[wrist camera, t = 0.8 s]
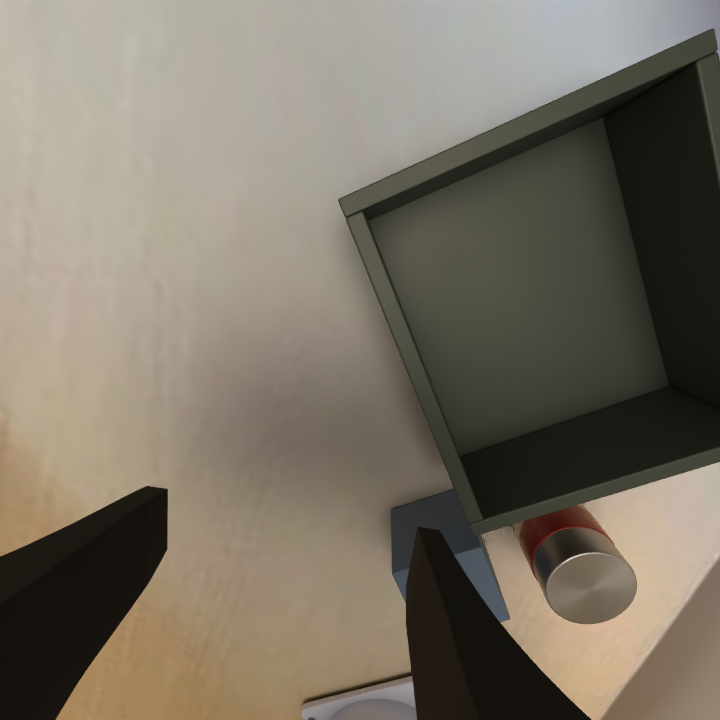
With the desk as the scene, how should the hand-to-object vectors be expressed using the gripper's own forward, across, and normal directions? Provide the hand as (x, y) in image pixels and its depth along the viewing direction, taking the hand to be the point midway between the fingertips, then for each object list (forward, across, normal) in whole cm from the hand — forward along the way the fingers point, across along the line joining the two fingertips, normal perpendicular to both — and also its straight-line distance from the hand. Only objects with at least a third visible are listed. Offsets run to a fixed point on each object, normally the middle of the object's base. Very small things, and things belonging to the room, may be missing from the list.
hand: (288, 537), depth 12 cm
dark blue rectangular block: (+9, -6, +6) cm, 13 cm away
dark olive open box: (+9, -8, -7) cm, 14 cm away
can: (+9, -12, +4) cm, 16 cm away
